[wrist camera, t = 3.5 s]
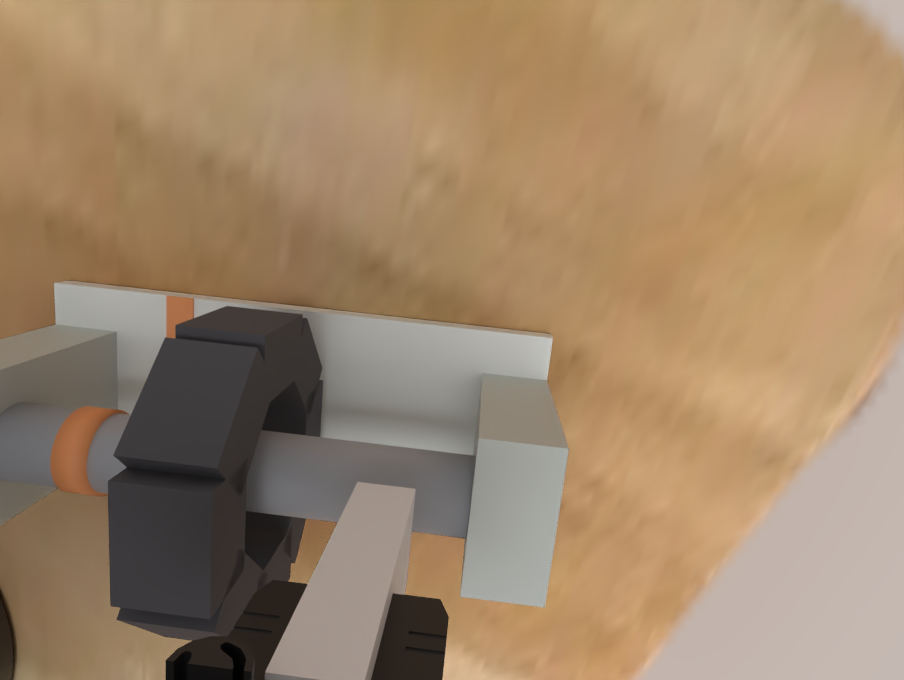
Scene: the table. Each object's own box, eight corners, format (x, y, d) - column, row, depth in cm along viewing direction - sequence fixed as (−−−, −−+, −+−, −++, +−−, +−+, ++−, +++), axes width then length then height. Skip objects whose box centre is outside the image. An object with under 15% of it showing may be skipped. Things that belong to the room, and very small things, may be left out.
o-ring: (254, 524, 24) (113, 713, 15) (262, 292, 22) (104, 351, 13) (314, 532, 24) (208, 726, 15) (327, 300, 22) (214, 364, 13)
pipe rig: (75, 470, 26) (-89, 573, 18) (68, 280, 24) (-116, 312, 17) (524, 525, 25) (537, 656, 18) (550, 333, 23) (577, 391, 16)
